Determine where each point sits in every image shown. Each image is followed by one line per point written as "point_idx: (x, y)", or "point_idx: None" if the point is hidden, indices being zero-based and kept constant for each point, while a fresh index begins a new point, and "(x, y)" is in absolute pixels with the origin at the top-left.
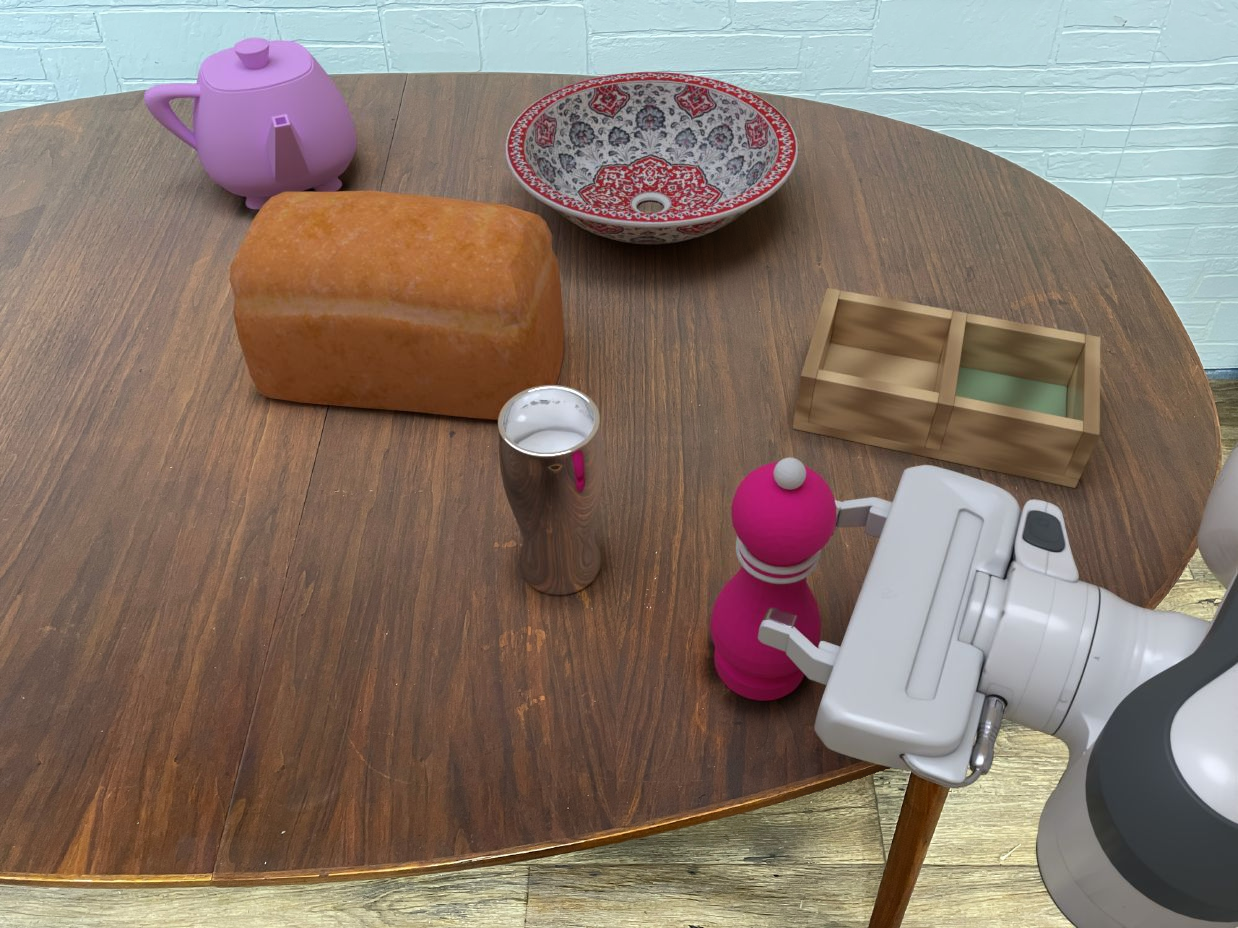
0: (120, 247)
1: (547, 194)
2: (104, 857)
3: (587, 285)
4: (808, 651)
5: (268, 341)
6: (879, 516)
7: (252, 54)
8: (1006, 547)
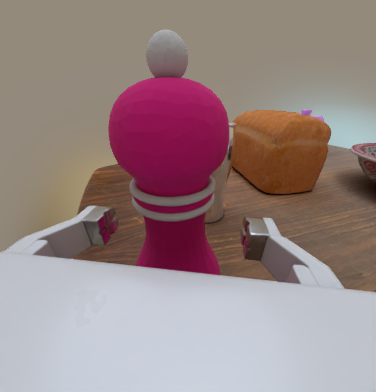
0: None
1: (357, 150)
2: (96, 174)
3: (347, 190)
4: (37, 233)
5: None
6: (297, 281)
7: (304, 110)
8: None
